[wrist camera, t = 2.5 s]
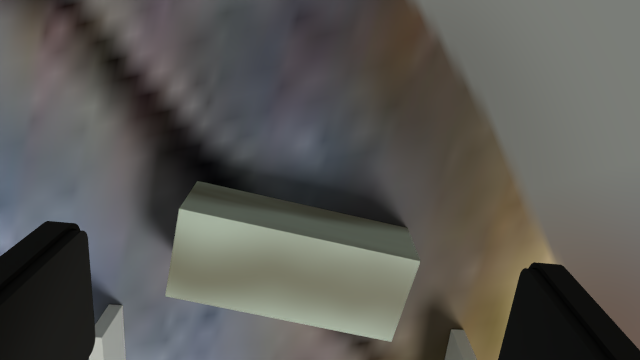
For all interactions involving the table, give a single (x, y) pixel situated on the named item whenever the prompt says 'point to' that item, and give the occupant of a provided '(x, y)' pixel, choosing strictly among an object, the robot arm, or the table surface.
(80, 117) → the table surface
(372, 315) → the pale green block
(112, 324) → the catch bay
